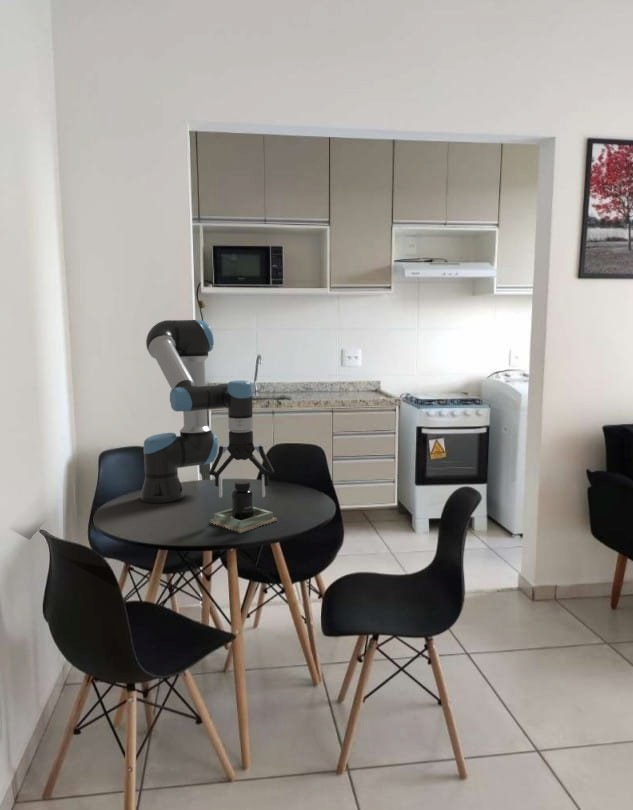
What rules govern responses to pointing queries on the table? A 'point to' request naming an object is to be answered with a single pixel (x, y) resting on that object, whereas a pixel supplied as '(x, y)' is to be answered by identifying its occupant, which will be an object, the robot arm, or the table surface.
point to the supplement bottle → (242, 501)
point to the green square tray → (241, 526)
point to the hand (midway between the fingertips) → (242, 496)
